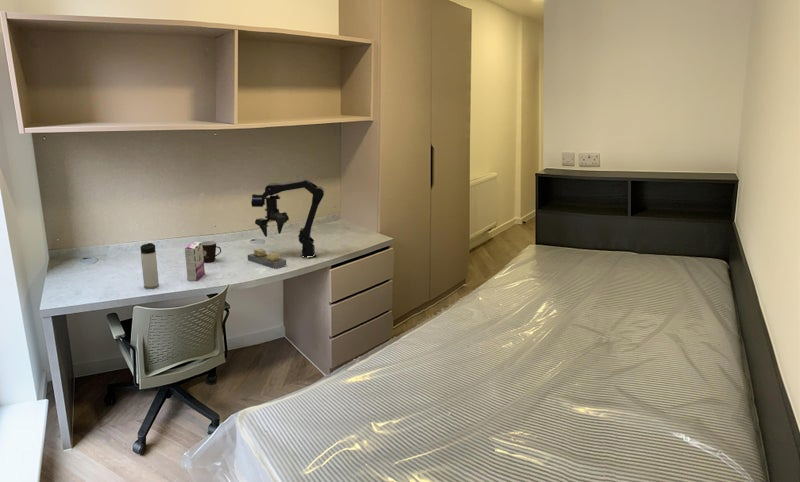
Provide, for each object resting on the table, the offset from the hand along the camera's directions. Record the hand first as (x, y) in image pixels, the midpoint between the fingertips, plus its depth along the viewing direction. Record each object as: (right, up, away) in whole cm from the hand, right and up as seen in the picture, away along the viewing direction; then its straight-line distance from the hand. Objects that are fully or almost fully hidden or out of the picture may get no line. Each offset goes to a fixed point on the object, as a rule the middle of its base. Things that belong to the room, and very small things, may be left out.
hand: (272, 235), depth 316 cm
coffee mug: (-31, -14, -9) cm, 35 cm away
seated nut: (-5, -14, -5) cm, 16 cm away
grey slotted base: (-1, -15, -9) cm, 17 cm away
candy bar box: (-30, -21, -33) cm, 50 cm away
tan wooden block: (+3, -16, -12) cm, 20 cm away
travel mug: (-46, -24, -47) cm, 70 cm away
